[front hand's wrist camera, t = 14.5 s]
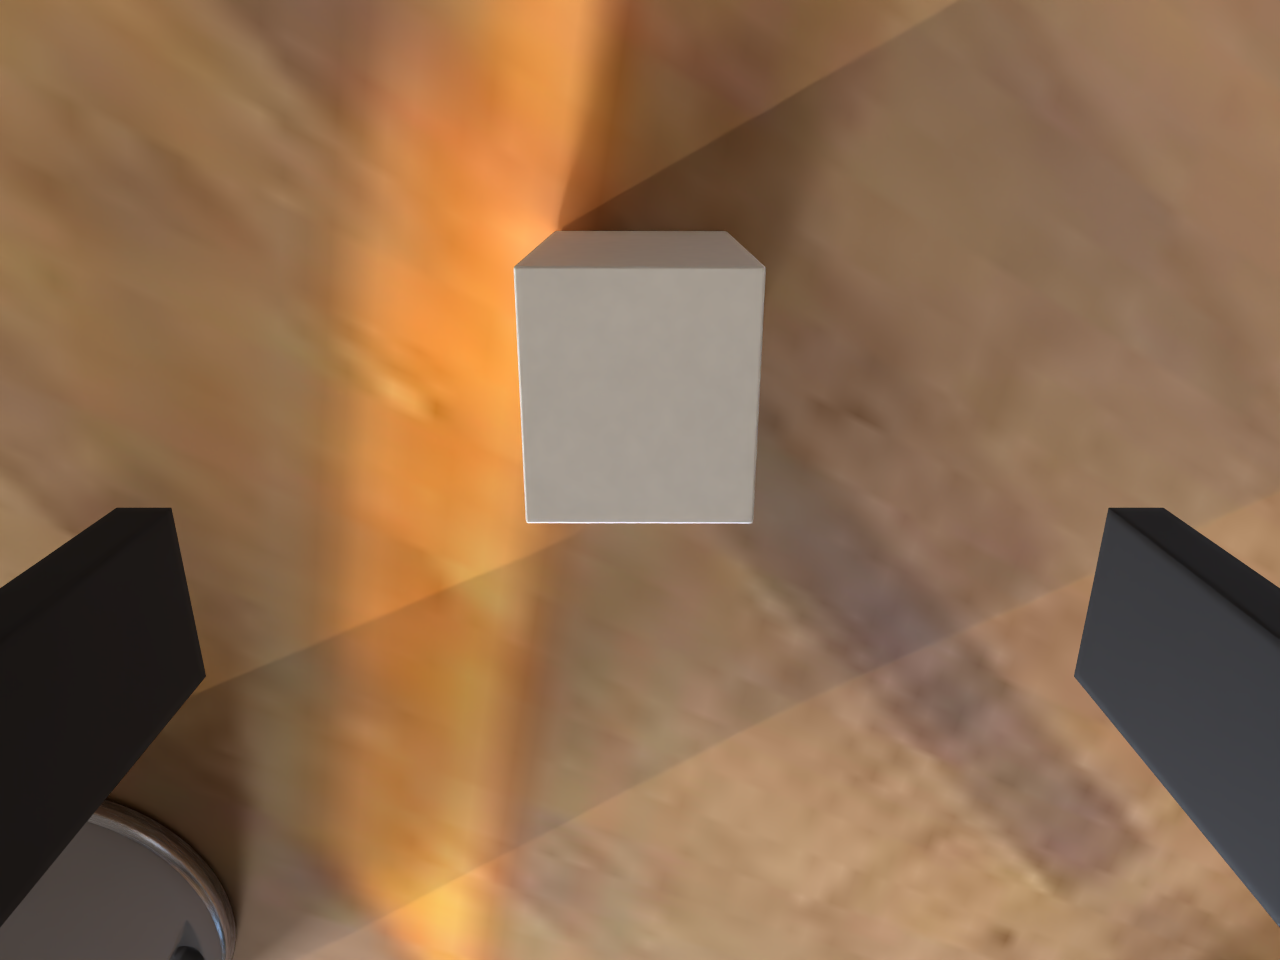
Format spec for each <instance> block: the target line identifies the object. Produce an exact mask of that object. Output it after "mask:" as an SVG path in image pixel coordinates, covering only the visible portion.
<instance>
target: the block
mask: <svg viewBox="0 0 1280 960" xmlns="http://www.w3.org/2000/svg"><path fill="white" fill-rule="evenodd" d="M765 275H766V268H765V266H764V265H763V264H761V263H760V262H759V261H758V260H757V259H756V258H755V257H754V256H753V255H752V254H751V253H750V252H748V251H747V250H746V249H745V248H744V247H743V246H742V245H741V244H740V243H739V242H738V241H737V240H735V239H734V238H733V237H732V236H731V235H730V234H729V233H728V232H727V231H555V232H553V233H552V234H551V235H550V236H549V237H548V238H547V239H545V240H544V241H543V242H542V243H541V244H540V245H539V246H537V247H536V248H535V249H534V250H533V251H532V252H531V253H529V254H528V255H527V256H526V257H525V258H524V259H523V260H521V261H520V262H519V263H518V264H517V265H516V266H515V267H514V284H515V305H516V325H517V346H518V367H519V387H520V408H521V429H522V449H523V470H524V491H525V511H526V522H527V523H753V518H754V498H755V478H756V457H757V437H758V417H759V396H760V376H761V356H762V335H763V315H764V295H765Z"/></svg>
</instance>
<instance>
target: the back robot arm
mask: <svg viewBox="0 0 1280 960" xmlns="http://www.w3.org/2000/svg"><path fill="white" fill-rule="evenodd" d="M235 940H236V930H235V921H234V915H233V911H232V908H231V905H230V902H229V899H228V897H227V895H226V893H225V890H224V888H223V887H222V885H221V883H220V881H219V880H218V878H217V877H216V875H215V874H214V872H213V871H212V870H211V868H210V867H209V866H208V865H207V863H206V862H205V861H204V860H203V859H202V858H201V856H200V855H199V854H198V853H197V852H196V851H195V850H193V849H192V848H191V847H190V846H189V845H188V844H187V843H186V842H185V841H183V840H182V839H181V838H180V837H178V836H177V835H176V834H174V833H173V832H172V831H170V830H169V829H167V828H166V827H164V826H163V825H161V824H159V823H158V822H156V821H154V820H153V819H151V818H149V817H147V816H145V815H143V814H141V813H139V812H137V811H135V810H132V809H130V808H128V807H125V806H123V805H120V804H117V803H114V802H111V801H108V800H104V801H103V803H102V804H101V805H100V806H99V808H98V809H97V810H96V811H95V812H94V814H93V815H92V816H91V817H90V819H89V820H88V821H87V822H86V823H85V825H84V826H83V827H82V828H81V830H80V831H79V832H78V833H77V834H76V836H75V837H74V838H73V839H72V841H71V842H70V843H69V844H68V845H67V847H66V848H65V849H64V850H63V851H62V853H61V854H60V855H59V856H58V858H57V859H56V860H55V861H54V862H53V864H52V865H51V866H50V867H49V869H48V870H47V871H46V872H45V873H44V875H43V876H42V877H41V878H40V880H39V881H38V882H37V883H36V884H35V886H34V887H33V888H32V889H31V891H30V892H29V893H28V894H27V895H26V897H25V898H24V899H23V900H22V902H21V903H20V904H19V905H18V906H17V908H16V909H15V910H14V911H13V913H12V914H11V915H10V916H9V917H8V919H7V920H6V921H5V922H4V924H3V925H2V926H1V927H0V960H232V958H233V954H234V949H235Z"/></svg>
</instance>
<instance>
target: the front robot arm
mask: <svg viewBox="0 0 1280 960" xmlns="http://www.w3.org/2000/svg"><path fill="white" fill-rule="evenodd" d="M205 677H206V674H205V669H204V664H203V660H202V655H201V650H200V645H199V640H198V635H197V630H196V625H195V621H194V616H193V611H192V606H191V601H190V596H189V591H188V586H187V582H186V577H185V572H184V567H183V562H182V557H181V552H180V548H179V543H178V538H177V533H176V528H175V523H174V518H173V513H172V509H171V508H116V509H114V510H113V511H111V512H110V513H108V514H107V515H106V516H104V517H103V518H101V519H100V520H98V521H97V522H95V523H94V524H93V525H91V526H90V527H88V528H87V529H85V530H84V531H82V532H81V533H80V534H78V535H77V536H75V537H74V538H72V539H71V540H69V541H68V542H67V543H65V544H64V545H62V546H61V547H59V548H58V549H56V550H55V551H54V552H52V553H51V554H49V555H48V556H46V557H45V558H43V559H42V560H41V561H39V562H38V563H36V564H35V565H33V566H32V567H30V568H29V569H28V570H26V571H25V572H23V573H22V574H20V575H19V576H17V577H16V578H15V579H13V580H12V581H10V582H9V583H7V584H6V585H4V586H3V587H2V588H0V927H1V926H2V925H3V924H4V922H5V921H6V920H7V919H8V917H9V916H10V915H11V914H12V913H13V911H14V910H15V909H16V908H17V906H18V905H19V904H20V903H21V902H22V900H23V899H24V898H25V897H26V895H27V894H28V893H29V892H30V891H31V889H32V888H33V887H34V886H35V884H36V883H37V882H38V881H39V880H40V878H41V877H42V876H43V875H44V873H45V872H46V871H47V870H48V869H49V867H50V866H51V865H52V864H53V862H54V861H55V860H56V859H57V858H58V856H59V855H60V854H61V853H62V851H63V850H64V849H65V848H66V847H67V845H68V844H69V843H70V842H71V841H72V839H73V838H74V837H75V836H76V834H77V833H78V832H79V831H80V830H81V828H82V827H83V826H84V825H85V823H86V822H87V821H88V820H89V819H90V817H91V816H92V815H93V814H94V812H95V811H96V810H97V809H98V808H99V806H100V805H101V804H102V803H103V801H104V800H105V799H106V798H107V797H108V795H109V794H110V793H111V792H112V790H113V789H114V788H115V787H116V786H117V784H118V783H119V782H120V781H121V779H122V778H123V777H124V776H125V775H126V773H127V772H128V771H129V770H130V768H131V767H132V766H133V765H134V764H135V762H136V761H137V760H138V759H139V757H140V756H141V755H142V754H143V753H144V751H145V750H146V749H147V748H148V746H149V745H150V744H151V743H152V742H153V740H154V739H155V738H156V737H157V735H158V734H159V733H160V732H161V731H162V729H163V728H164V727H165V726H166V724H167V723H168V722H169V721H170V720H171V718H172V717H173V716H174V715H175V713H176V712H177V711H178V710H179V709H180V707H181V706H182V705H183V704H184V702H185V701H186V700H187V699H188V698H189V696H190V695H191V694H192V693H193V691H194V690H195V689H196V688H197V687H198V685H199V684H200V683H201V682H202V680H203V679H204V678H205ZM1074 677H1075V678H1076V679H1077V680H1078V682H1079V683H1080V684H1081V685H1082V687H1083V688H1084V689H1085V690H1086V691H1087V693H1088V694H1089V695H1090V696H1091V698H1092V699H1093V700H1094V701H1095V702H1096V704H1097V705H1098V706H1099V707H1100V709H1101V710H1102V711H1103V712H1104V713H1105V715H1106V716H1107V717H1108V718H1109V720H1110V721H1111V722H1112V723H1113V724H1114V726H1115V727H1116V728H1117V729H1118V731H1119V732H1120V733H1121V734H1122V735H1123V737H1124V738H1125V739H1126V740H1127V742H1128V743H1129V744H1130V745H1131V746H1132V748H1133V749H1134V750H1135V751H1136V753H1137V754H1138V755H1139V756H1140V757H1141V759H1142V760H1143V761H1144V762H1145V764H1146V765H1147V766H1148V767H1149V768H1150V770H1151V771H1152V772H1153V773H1154V775H1155V776H1156V777H1157V778H1158V779H1159V781H1160V782H1161V783H1162V784H1163V786H1164V787H1165V788H1166V789H1167V790H1168V792H1169V793H1170V794H1171V795H1172V797H1173V798H1174V799H1175V800H1176V801H1177V803H1178V804H1179V805H1180V806H1181V808H1182V809H1183V810H1184V811H1185V812H1186V814H1187V815H1188V816H1189V817H1190V819H1191V820H1192V821H1193V822H1194V823H1195V825H1196V826H1197V827H1198V828H1199V830H1200V831H1201V832H1202V833H1203V834H1204V836H1205V837H1206V838H1207V839H1208V841H1209V842H1210V843H1211V844H1212V845H1213V847H1214V848H1215V849H1216V850H1217V851H1218V853H1219V854H1220V855H1221V856H1222V858H1223V859H1224V860H1225V861H1226V862H1227V864H1228V865H1229V866H1230V867H1231V869H1232V870H1233V871H1234V872H1235V873H1236V875H1237V876H1238V877H1239V878H1240V880H1241V881H1242V882H1243V883H1244V884H1245V886H1246V887H1247V888H1248V889H1249V891H1250V892H1251V893H1252V894H1253V895H1254V897H1255V898H1256V899H1257V900H1258V902H1259V903H1260V904H1261V905H1262V906H1263V908H1264V909H1265V910H1266V911H1267V913H1268V914H1269V915H1270V916H1271V917H1272V919H1273V920H1274V921H1275V922H1276V924H1277V925H1278V926H1279V927H1280V588H1278V587H1277V586H1276V585H1274V584H1273V583H1271V582H1270V581H1268V580H1267V579H1265V578H1264V577H1263V576H1261V575H1260V574H1258V573H1257V572H1255V571H1254V570H1252V569H1251V568H1250V567H1248V566H1247V565H1245V564H1244V563H1242V562H1241V561H1239V560H1238V559H1237V558H1235V557H1234V556H1232V555H1231V554H1229V553H1228V552H1226V551H1225V550H1224V549H1222V548H1221V547H1219V546H1218V545H1216V544H1215V543H1213V542H1212V541H1211V540H1209V539H1208V538H1206V537H1205V536H1203V535H1202V534H1200V533H1199V532H1198V531H1196V530H1195V529H1193V528H1192V527H1190V526H1189V525H1187V524H1186V523H1185V522H1183V521H1182V520H1180V519H1179V518H1177V517H1176V516H1174V515H1173V514H1172V513H1170V512H1169V511H1167V510H1166V509H1164V508H1109V509H1108V513H1107V518H1106V523H1105V528H1104V533H1103V538H1102V543H1101V547H1100V552H1099V557H1098V562H1097V567H1096V572H1095V577H1094V582H1093V586H1092V591H1091V596H1090V601H1089V606H1088V611H1087V616H1086V621H1085V625H1084V630H1083V635H1082V640H1081V645H1080V650H1079V655H1078V660H1077V664H1076V669H1075V674H1074Z"/></svg>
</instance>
